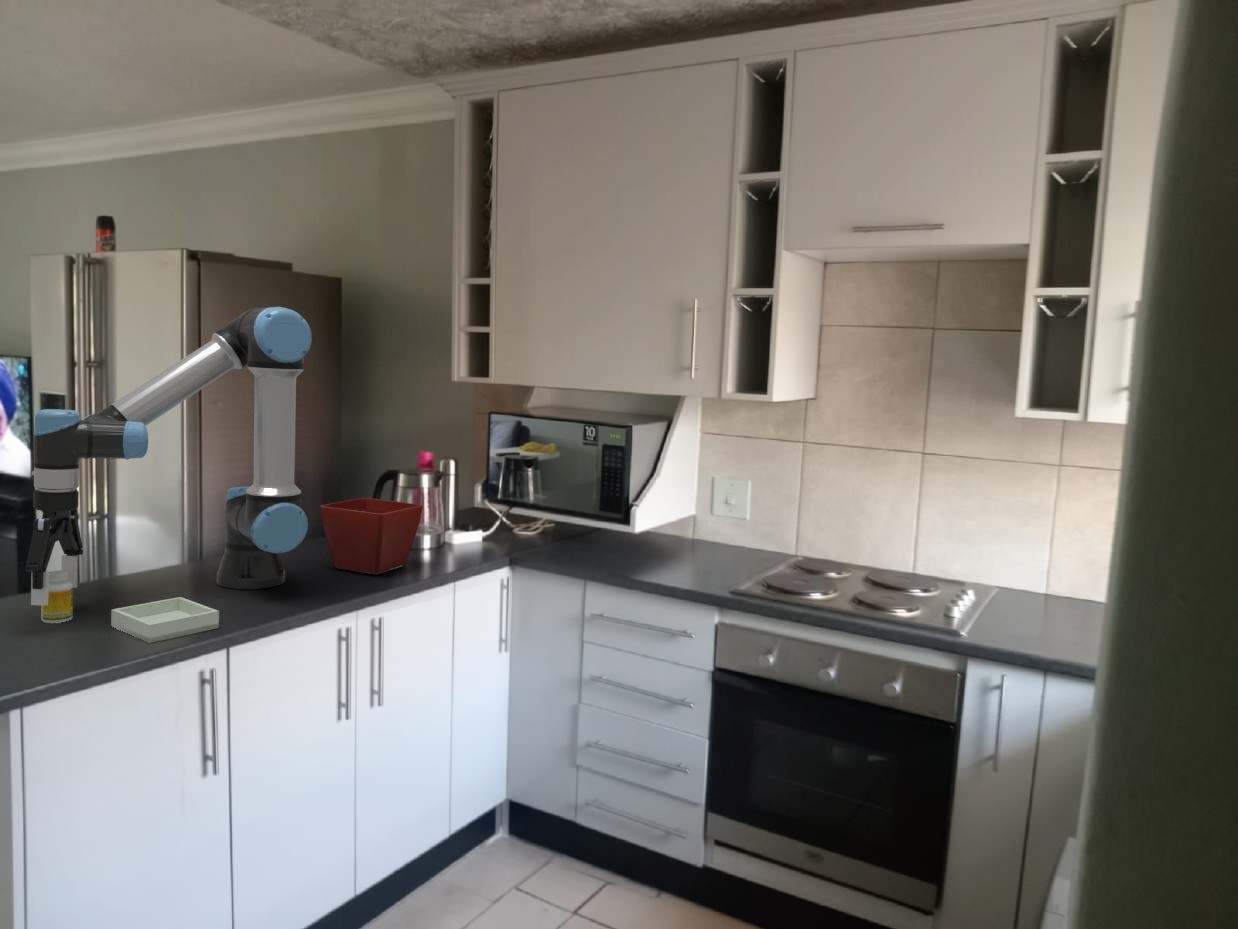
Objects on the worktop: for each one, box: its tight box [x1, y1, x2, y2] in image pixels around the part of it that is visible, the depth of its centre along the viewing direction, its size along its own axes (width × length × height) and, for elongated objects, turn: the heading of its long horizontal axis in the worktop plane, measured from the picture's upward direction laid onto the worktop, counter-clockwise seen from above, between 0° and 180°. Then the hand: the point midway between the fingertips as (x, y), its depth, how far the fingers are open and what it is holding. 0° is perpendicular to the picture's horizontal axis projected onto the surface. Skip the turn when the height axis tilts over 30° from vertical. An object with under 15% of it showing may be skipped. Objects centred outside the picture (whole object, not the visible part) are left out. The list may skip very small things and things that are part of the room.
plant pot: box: [319, 497, 423, 573], centre depth 238 cm, size 19×19×17 cm
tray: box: [110, 596, 220, 644], centre depth 181 cm, size 14×14×4 cm
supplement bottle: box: [40, 570, 74, 624], centre depth 181 cm, size 5×5×10 cm
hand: (55, 595), depth 181 cm, fingers open, 13 cm apart
